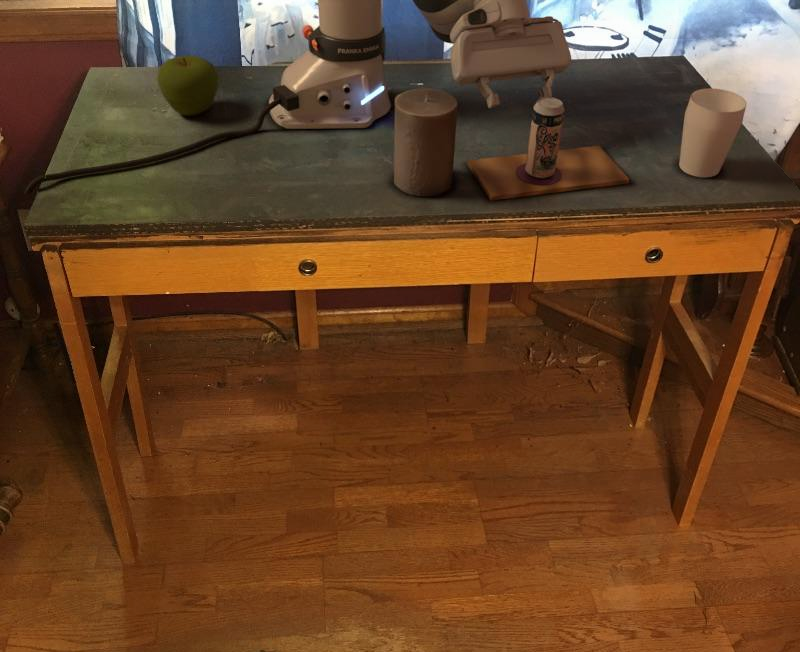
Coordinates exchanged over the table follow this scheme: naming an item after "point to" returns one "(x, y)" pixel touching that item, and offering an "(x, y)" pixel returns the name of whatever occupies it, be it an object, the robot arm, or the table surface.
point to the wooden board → (570, 174)
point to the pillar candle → (424, 141)
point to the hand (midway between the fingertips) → (520, 102)
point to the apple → (188, 84)
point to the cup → (710, 130)
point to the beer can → (544, 137)
